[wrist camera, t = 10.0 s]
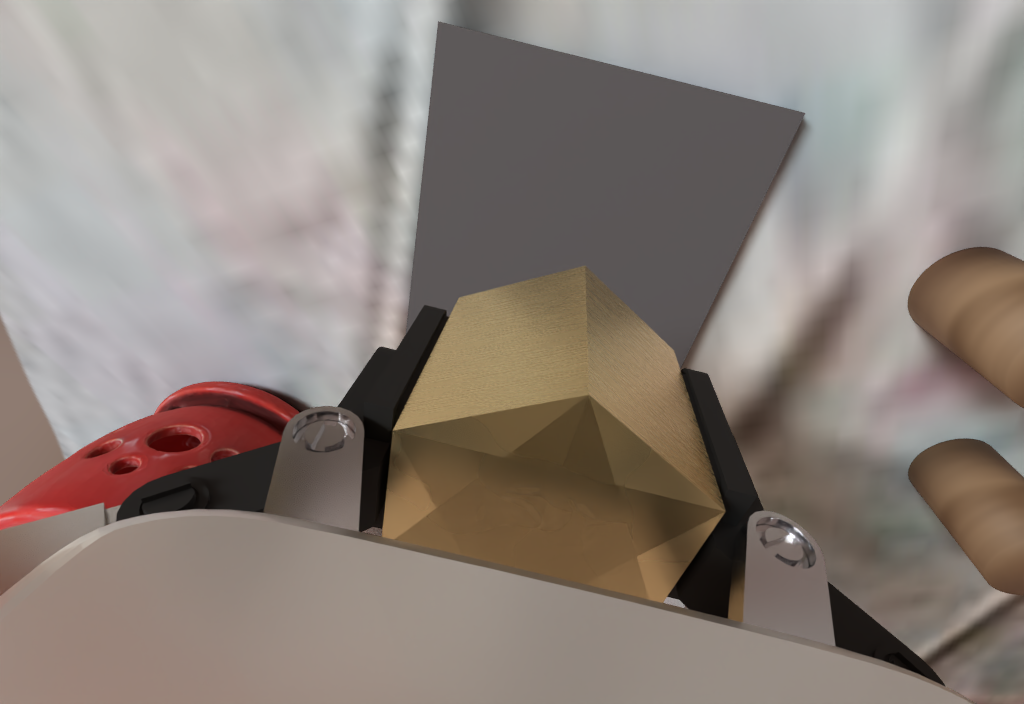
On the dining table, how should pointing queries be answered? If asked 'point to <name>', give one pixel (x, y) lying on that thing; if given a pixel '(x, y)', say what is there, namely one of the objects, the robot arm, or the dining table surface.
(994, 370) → the cylinder
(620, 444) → the tan faceted block
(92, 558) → the robot arm
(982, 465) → the cylinder
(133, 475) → the plant pot
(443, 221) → the mat
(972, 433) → the dining table surface
